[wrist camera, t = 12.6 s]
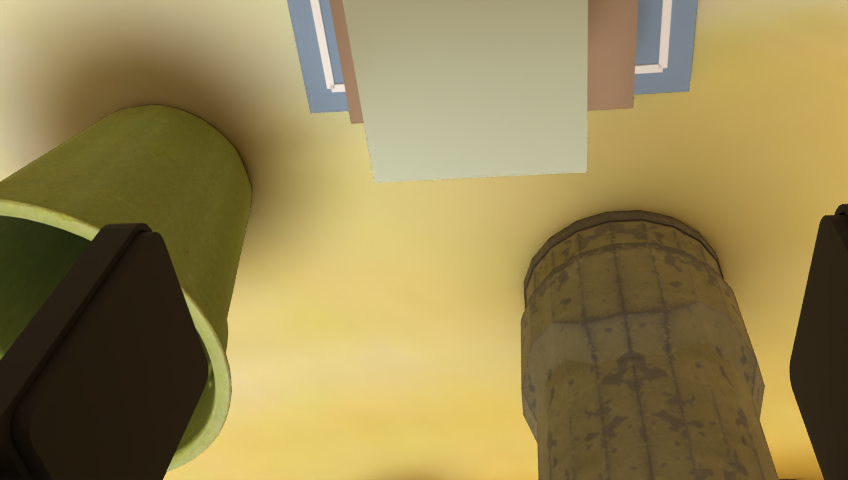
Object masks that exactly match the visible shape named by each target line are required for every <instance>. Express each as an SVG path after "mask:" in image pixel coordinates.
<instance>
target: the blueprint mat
mask: <svg viewBox="0 0 848 480" xmlns="http://www.w3.org/2000/svg"><path fill="white" fill-rule="evenodd" d="M287 2H288V7H289V12H290V17H291V21H292V26H293V31H294V36H295V41H296V45H297V50H298V55H299V60H300V64H301V69H302V74H303V79H304V83H305V88H306V93H307V98H308V102H309V107H310V112H311V113H321V112H339V111H349V108H348V103H347V97H346V91H345V86H344V80H343V75H342V69H341V63H340V58H339V52H338V47H337V41H336V35H335V30H334V24H333V19H332V13H331V7H330V2H329V0H287ZM697 2H698V0H638V18H637V39H636V59H635V80H634V95H635V94H652V93H670V92H687V91H689V89H690V78H691V67H692V56H693V46H694V35H695V24H696V13H697Z"/></svg>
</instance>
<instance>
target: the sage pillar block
mask: <svg viewBox="0 0 848 480" xmlns="http://www.w3.org/2000/svg"><path fill="white" fill-rule="evenodd" d="M342 1H343V6H344V12H345V18H346V24H347V29H348V35H349V41H350V46H351V52H352V58H353V64H354V69H355V75H356V81H357V87H358V92H359V98H360V104H361V109H362V115H363V121H364V127H365V132H366V138H367V144H368V150H369V155H370V161H371V167H372V172H373V178H374V183H383V182H403V181H423V180H443V179H464V178H484V177H504V176H524V175H544V174H565V173H585V172H587V73H588V0H342Z"/></svg>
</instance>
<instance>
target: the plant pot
mask: <svg viewBox="0 0 848 480" xmlns="http://www.w3.org/2000/svg"><path fill="white" fill-rule="evenodd" d="M251 200H252V189H251V185H250V182H249V179H248V177H247V174H246V171H245V169H244V166H243V164H242V161H241V159H240V157H239V154H238V152H237V151H236V149H235V148H234V147H233V145H232V144H231V143H230V142H229V141H228V140H227V139H226V138H225V137H224V136H223V135H222V134H221V133H220V132H218V131H217V130H216V129H215V128H214V127H212V126H211V125H209V124H208V123H206V122H205V121H204V120H202V119H200V118H198V117H196V116H194V115H192V114H190V113H187V112H185V111H182V110H179V109H176V108H173V107H168V106H163V105H146V106H138V107H131V108H126V109H121V110H118V111H116V112H114V113H112V114H110V115H108V116H106V117H105V118H103V119H101V120H100V121H98V122H96V123H95V124H93V125H91V126H90V127H88V128H86V129H85V130H83V131H81V132H80V133H78V134H77V135H75V136H74V137H72V138H70V139H69V140H67V141H66V142H64V143H62V144H61V145H59V146H58V147H56V148H54V149H53V150H51V151H50V152H48V153H46V154H45V155H43V156H41V157H40V158H38V159H36V160H35V161H33V162H31V163H30V164H28V165H26V166H25V167H23V168H22V169H20V170H18V171H17V172H15V173H14V174H12V175H11V176H9V177H7V178H6V179H4V180H2V181H1V182H0V360H1V359H2V357H3V356H4V355H5V353H6V352H7V351H8V349H9V348H10V347H11V345H12V344H13V343H14V342H15V340H16V339H17V338H18V336H19V335H20V334H21V332H22V331H23V330H24V329H25V327H26V326H27V325H28V323H29V322H30V321H31V319H32V318H33V317H34V315H35V314H36V313H37V312H38V310H39V309H40V308H41V306H42V305H43V304H44V302H45V301H46V300H47V299H48V297H49V296H50V295H51V293H52V292H53V291H54V289H55V288H56V287H57V285H58V284H59V283H60V282H61V280H62V279H63V278H64V276H65V275H66V274H67V272H68V271H69V270H70V269H71V267H72V266H73V265H74V263H75V262H76V261H77V259H78V258H79V257H80V255H81V254H82V253H83V252H84V250H85V249H86V248H87V246H88V245H89V244H90V242H91V241H92V240H93V239H94V237H95V236H96V235H97V233H98V232H99V231H100V229H101V228H102V227H103V226H105V225H106V224H114V223H145V224H147V225H148V226H149V227H150V228H151V229H152V231H153V232H158V233H160V235H161V236H162V237H163V239H164V241H165V244H166V247H167V250H168V253H169V255H170V258H171V261H172V264H173V266H174V269H175V272H176V275H177V278H178V280H179V283H180V286H181V289H182V291H183V294H184V297H185V300H186V303H187V305H188V308H189V311H190V314H191V316H192V319H193V322H194V325H195V328H196V330H197V333H198V336H199V339H200V341H201V344H202V347H203V350H204V353H205V355H206V358H207V362H208V369H209V370H208V380H207V383H206V386H205V388H204V390H203V393H202V395H201V397H200V399H199V401H198V404H197V406H196V408H195V410H194V412H193V415H192V417H191V419H190V421H189V423H188V426H187V428H186V430H185V432H184V434H183V437H182V439H181V441H180V443H179V445H178V448H177V450H176V452H175V454H174V456H173V458H172V461H171V463H170V465H169V467H168V469H167V472H168V471H170V470H173V469H175V468H178V467H180V466H182V465H184V464H186V463H188V462H189V461H191V460H192V459H194V458H196V457H197V456H198V455H200V454H201V453H202V452H203V451H204V450H206V449H207V448H208V446H209V445H210V444H211V443H212V442H213V441H214V440H215V438H216V437H217V436H218V434H219V433H220V431H221V429H222V427H223V425H224V423H225V420H226V418H227V415H228V411H229V407H230V401H231V392H232V388H231V374H230V368H229V364H228V360H227V356H226V348H227V340H228V323H227V316H228V311H229V307H230V302H231V298H232V293H233V288H234V283H235V278H236V273H237V268H238V263H239V259H240V254H241V250H242V246H243V241H244V237H245V232H246V227H247V222H248V218H249V213H250V208H251Z"/></svg>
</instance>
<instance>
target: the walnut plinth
mask: <svg viewBox="0 0 848 480" xmlns="http://www.w3.org/2000/svg"><path fill="white" fill-rule="evenodd" d="M329 2H330V7H331V13H332V19H333V24H334V30H335V35H336V41H337V47H338V52H339V58H340V63H341V69H342V75H343V80H344V86H345V91H346V97H347V103H348V108H349V114H350V119H351V124H355V123H364V121H363V115H362V109H361V104H360V98H359V92H358V87H357V81H356V75H355V69H354V64H353V58H352V52H351V46H350V41H349V35H348V29H347V24H346V18H345V12H344V6H343V1H342V0H329ZM637 18H638V0H588V73H587V111H591V110H609V109H627V108H633V100H634V80H635V59H636V39H637Z"/></svg>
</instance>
